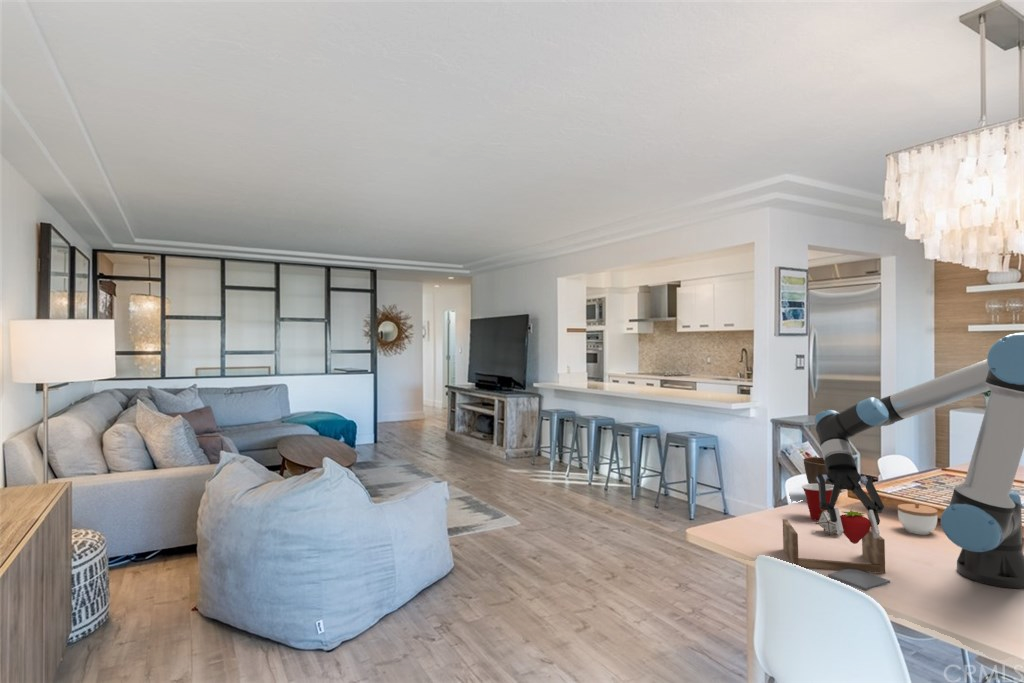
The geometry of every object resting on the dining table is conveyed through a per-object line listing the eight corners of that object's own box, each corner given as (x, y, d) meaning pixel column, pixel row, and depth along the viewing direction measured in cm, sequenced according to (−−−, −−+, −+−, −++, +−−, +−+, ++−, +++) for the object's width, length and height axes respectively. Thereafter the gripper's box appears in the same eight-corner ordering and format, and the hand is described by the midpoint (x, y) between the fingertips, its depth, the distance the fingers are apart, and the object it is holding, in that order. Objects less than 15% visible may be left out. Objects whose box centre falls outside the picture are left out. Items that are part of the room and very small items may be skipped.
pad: (890, 582, 144) (890, 580, 144) (866, 590, 139) (866, 588, 139) (852, 569, 153) (852, 567, 153) (828, 576, 148) (828, 574, 148)
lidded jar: (943, 532, 182) (943, 503, 182) (930, 539, 176) (929, 509, 176) (906, 524, 191) (905, 497, 191) (892, 530, 184) (891, 502, 185)
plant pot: (850, 500, 222) (849, 459, 222) (844, 508, 211) (843, 466, 211) (808, 494, 232) (807, 455, 232) (800, 502, 220) (799, 461, 220)
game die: (838, 546, 181) (854, 527, 175) (811, 536, 183) (826, 516, 177) (835, 526, 188) (850, 506, 183) (809, 516, 190) (823, 496, 184)
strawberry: (873, 549, 143) (873, 510, 143) (839, 545, 146) (839, 507, 146) (868, 541, 148) (868, 504, 148) (836, 538, 151) (835, 501, 151)
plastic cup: (808, 513, 206) (808, 480, 206) (841, 519, 198) (840, 485, 198) (797, 519, 198) (796, 485, 199) (830, 525, 190) (829, 490, 191)
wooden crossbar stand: (783, 549, 169) (782, 519, 169) (867, 555, 163) (866, 524, 163) (793, 566, 156) (792, 533, 156) (885, 573, 150) (884, 539, 150)
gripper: (875, 468, 159) (900, 544, 144) (797, 465, 165) (812, 538, 149) (882, 452, 154) (908, 530, 138) (801, 450, 160) (817, 524, 144)
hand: (858, 534), depth 144 cm, fingers closed on strawberry, 7 cm apart
